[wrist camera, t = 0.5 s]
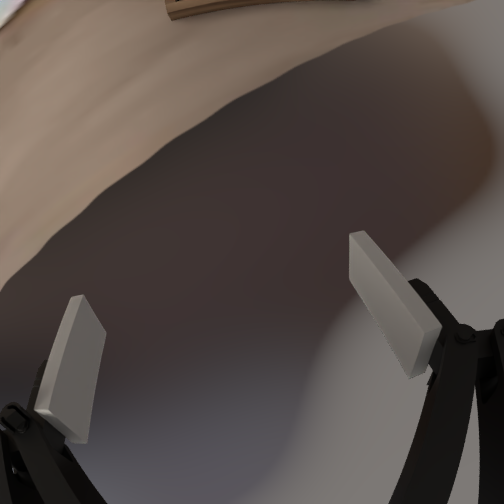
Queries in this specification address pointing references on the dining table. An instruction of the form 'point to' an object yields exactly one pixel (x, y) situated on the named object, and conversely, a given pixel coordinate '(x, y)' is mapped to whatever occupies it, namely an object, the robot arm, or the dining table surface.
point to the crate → (210, 6)
